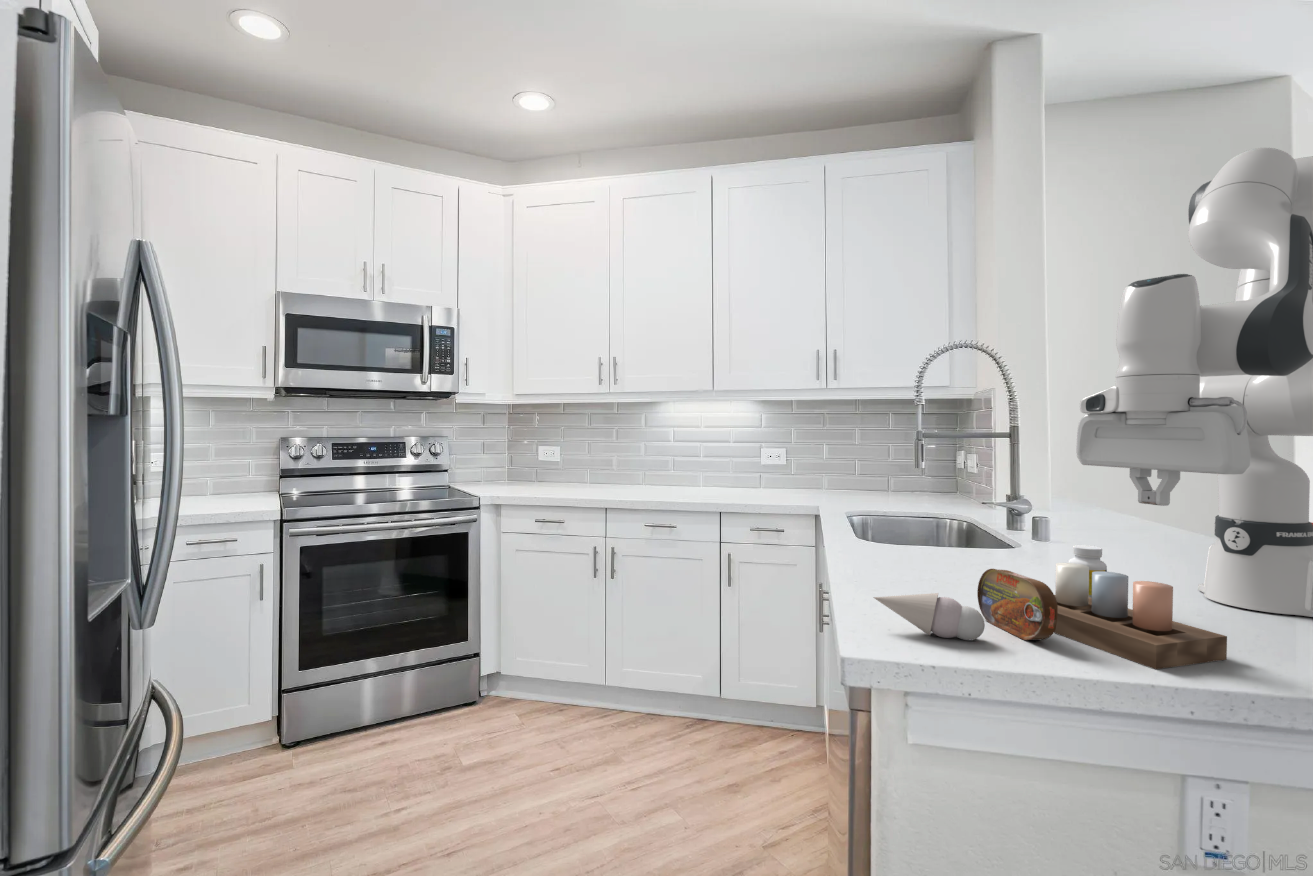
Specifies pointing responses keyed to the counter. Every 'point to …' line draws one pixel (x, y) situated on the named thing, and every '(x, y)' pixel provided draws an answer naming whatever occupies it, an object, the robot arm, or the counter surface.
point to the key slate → (1110, 594)
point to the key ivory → (1072, 584)
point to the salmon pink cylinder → (1152, 605)
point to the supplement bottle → (1089, 560)
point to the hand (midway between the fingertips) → (1153, 504)
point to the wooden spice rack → (1140, 638)
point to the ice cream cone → (937, 615)
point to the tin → (1017, 604)
